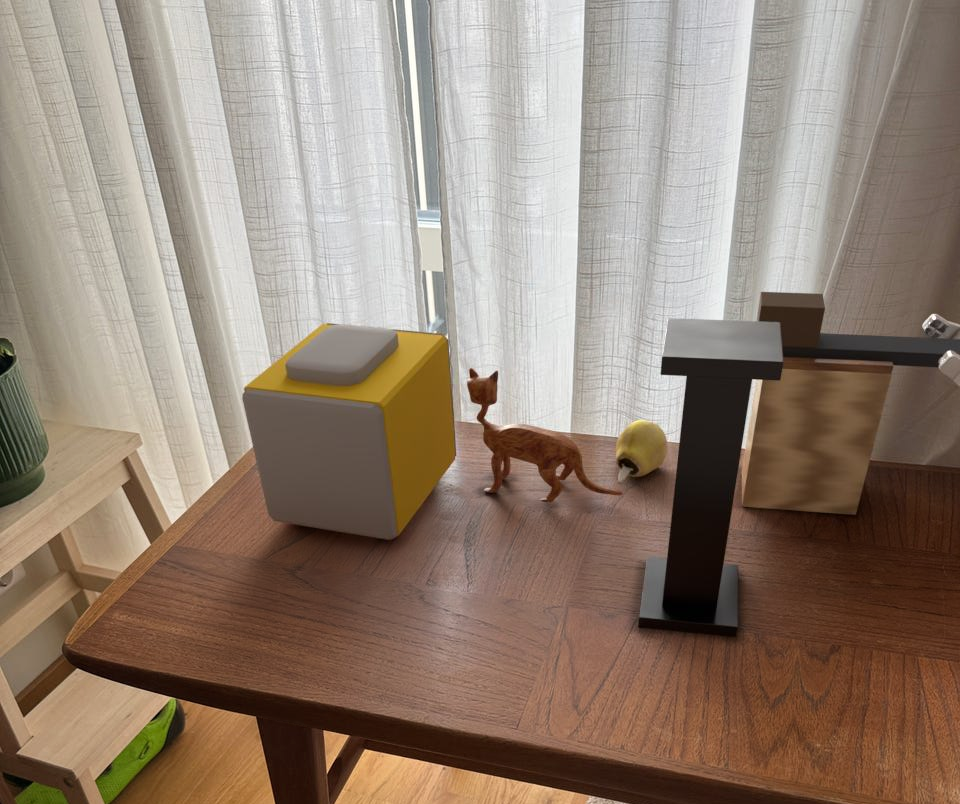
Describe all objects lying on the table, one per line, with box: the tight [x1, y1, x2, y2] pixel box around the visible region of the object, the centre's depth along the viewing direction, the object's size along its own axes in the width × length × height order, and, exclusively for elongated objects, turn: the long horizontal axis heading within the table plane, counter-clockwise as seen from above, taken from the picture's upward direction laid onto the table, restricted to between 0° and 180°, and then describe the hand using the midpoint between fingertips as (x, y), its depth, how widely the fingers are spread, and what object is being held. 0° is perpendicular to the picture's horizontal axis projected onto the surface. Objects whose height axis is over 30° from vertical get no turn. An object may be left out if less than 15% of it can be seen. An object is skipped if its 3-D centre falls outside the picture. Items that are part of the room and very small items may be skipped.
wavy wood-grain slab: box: [741, 334, 894, 516], centre depth 98 cm, size 12×8×17 cm, turn 78°
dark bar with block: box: [756, 291, 960, 368], centre depth 91 cm, size 20×4×5 cm, turn 77°
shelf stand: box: [637, 317, 784, 638], centre depth 81 cm, size 9×10×26 cm
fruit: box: [615, 419, 669, 485], centre depth 107 cm, size 6×6×10 cm
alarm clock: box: [241, 322, 457, 541], centre depth 100 cm, size 20×16×18 cm
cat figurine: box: [466, 367, 624, 503], centre depth 101 cm, size 18×7×14 cm, turn 70°
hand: (935, 339), depth 90 cm, fingers open, 8 cm apart
